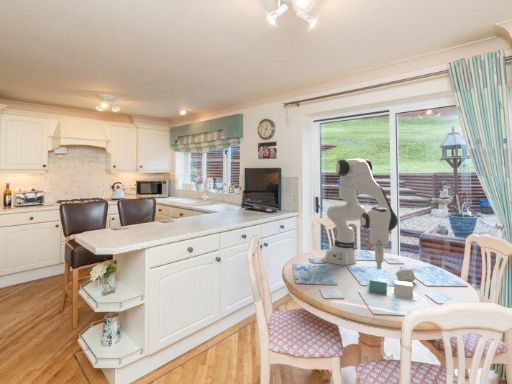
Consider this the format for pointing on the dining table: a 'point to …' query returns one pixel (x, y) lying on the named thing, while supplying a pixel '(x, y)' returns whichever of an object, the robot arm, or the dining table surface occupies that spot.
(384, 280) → the teal brick
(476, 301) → the dining table surface
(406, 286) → the cream brick
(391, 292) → the white flat slab
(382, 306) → the dining table surface
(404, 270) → the grey brown rock
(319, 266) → the dining table surface
